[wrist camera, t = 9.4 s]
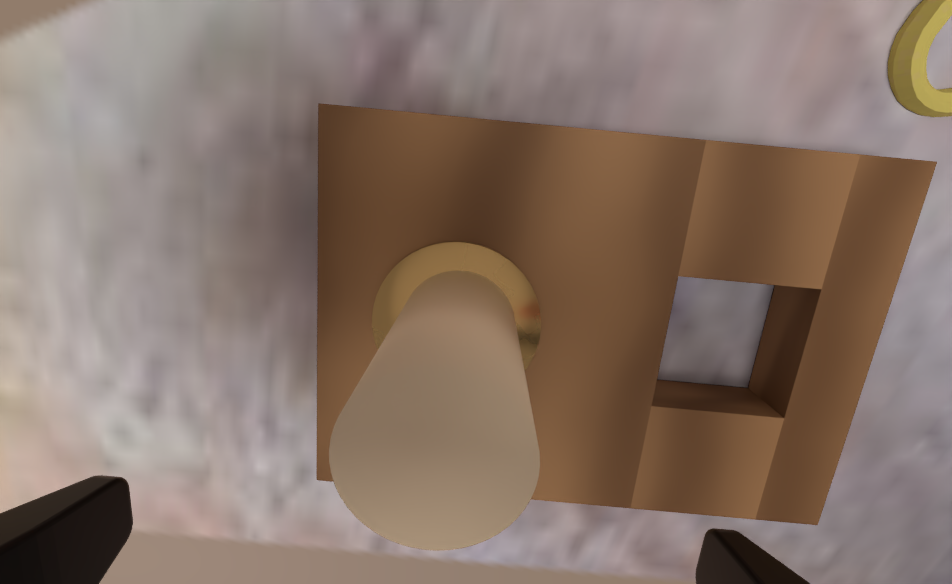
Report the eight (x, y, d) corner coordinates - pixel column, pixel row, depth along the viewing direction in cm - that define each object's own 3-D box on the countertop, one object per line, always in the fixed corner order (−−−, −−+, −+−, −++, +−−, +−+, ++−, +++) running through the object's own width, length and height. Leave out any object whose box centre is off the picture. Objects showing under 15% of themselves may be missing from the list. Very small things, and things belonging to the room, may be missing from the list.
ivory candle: (536, 306, 16) (581, 430, 9) (478, 395, 17) (473, 580, 10) (436, 249, 16) (388, 326, 8) (383, 344, 17) (295, 494, 9)
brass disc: (573, 295, 16) (574, 297, 16) (486, 426, 18) (486, 429, 18) (423, 208, 16) (422, 209, 16) (345, 351, 17) (343, 353, 17)
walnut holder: (874, 162, 18) (937, 162, 15) (779, 484, 21) (817, 524, 19) (341, 112, 17) (318, 103, 15) (336, 444, 21) (316, 480, 19)
